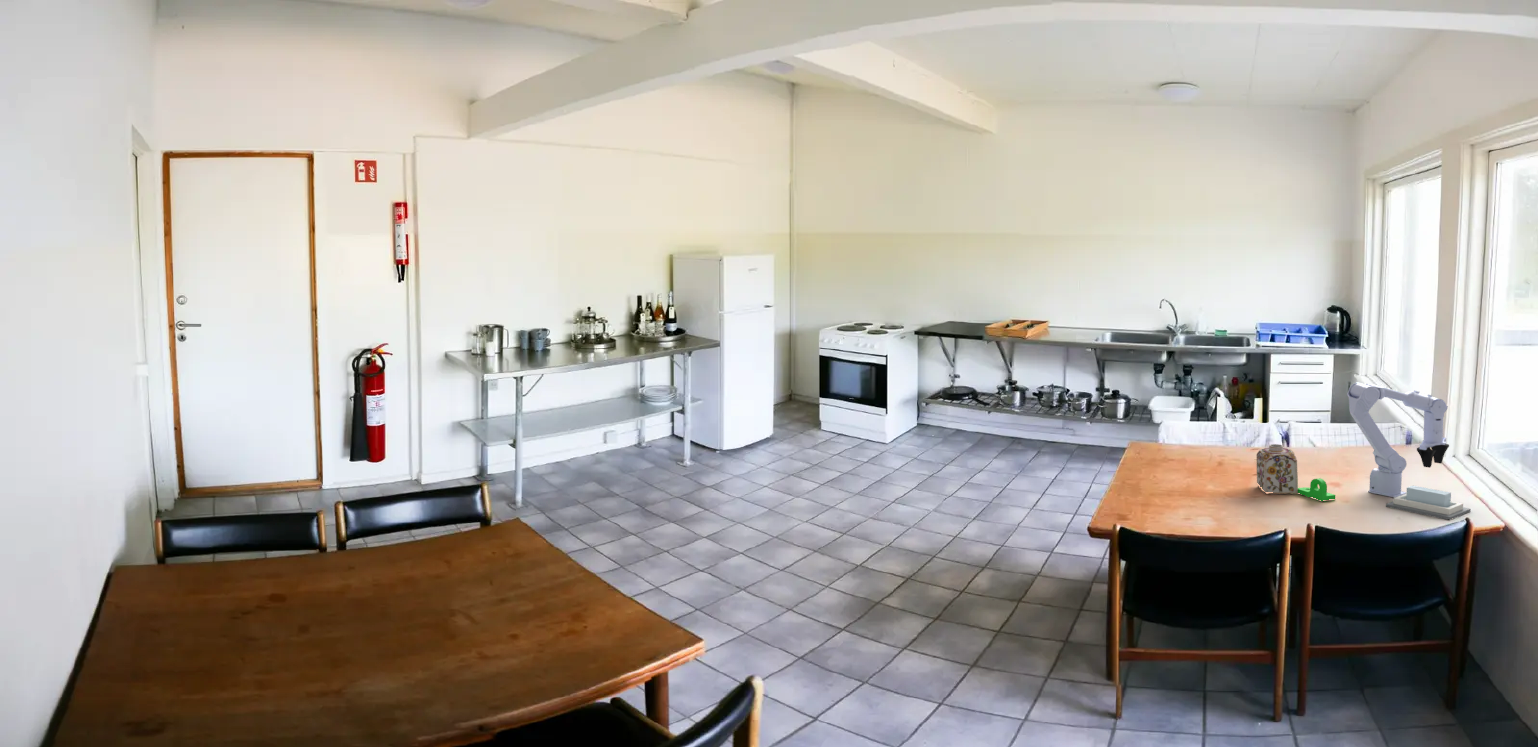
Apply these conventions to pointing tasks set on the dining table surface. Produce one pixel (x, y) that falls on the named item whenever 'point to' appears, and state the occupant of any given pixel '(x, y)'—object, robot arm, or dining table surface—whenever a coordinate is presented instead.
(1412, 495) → the block
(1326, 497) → the mechanical part
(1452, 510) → the cradle jig
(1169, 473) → the dining table surface
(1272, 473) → the decorative jar
